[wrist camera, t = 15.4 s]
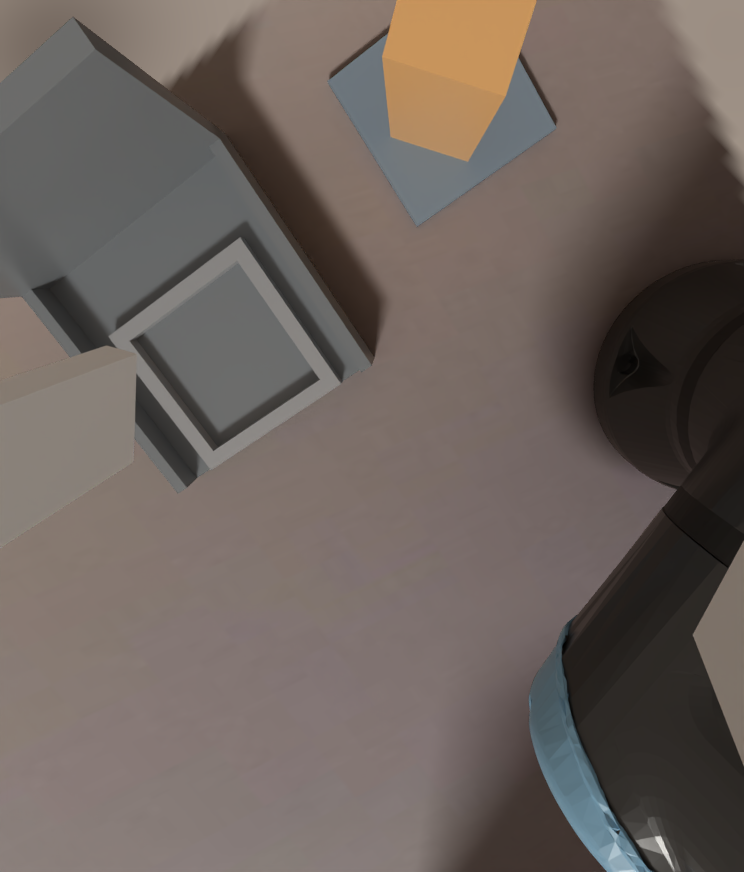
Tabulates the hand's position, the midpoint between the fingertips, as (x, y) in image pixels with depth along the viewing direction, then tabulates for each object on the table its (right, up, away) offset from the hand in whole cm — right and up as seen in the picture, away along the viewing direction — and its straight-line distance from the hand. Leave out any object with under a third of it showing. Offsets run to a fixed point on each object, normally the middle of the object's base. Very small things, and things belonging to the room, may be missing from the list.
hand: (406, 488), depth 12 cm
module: (+4, +21, +23) cm, 31 cm away
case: (-12, +9, +28) cm, 31 cm away
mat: (+4, +21, +23) cm, 32 cm away
